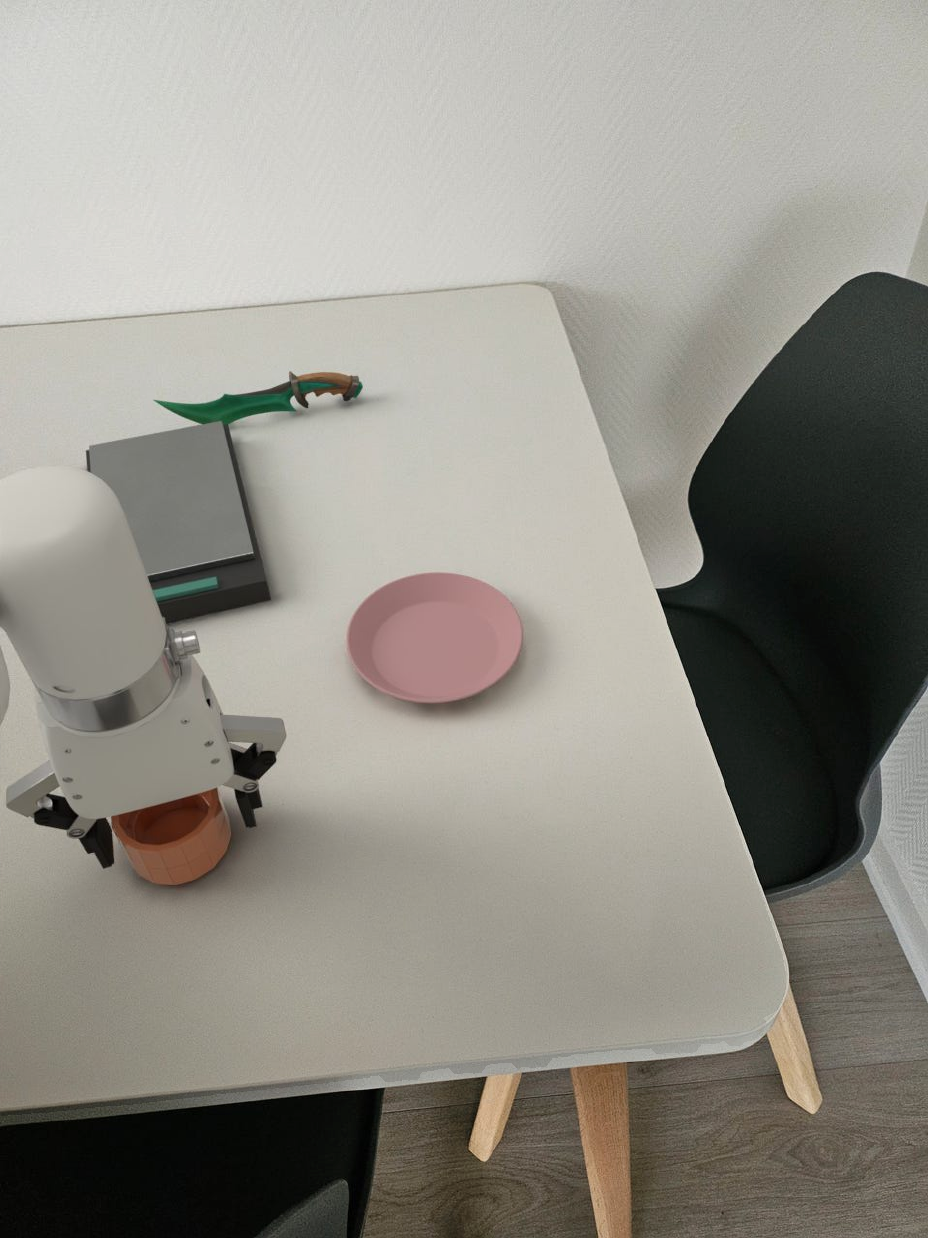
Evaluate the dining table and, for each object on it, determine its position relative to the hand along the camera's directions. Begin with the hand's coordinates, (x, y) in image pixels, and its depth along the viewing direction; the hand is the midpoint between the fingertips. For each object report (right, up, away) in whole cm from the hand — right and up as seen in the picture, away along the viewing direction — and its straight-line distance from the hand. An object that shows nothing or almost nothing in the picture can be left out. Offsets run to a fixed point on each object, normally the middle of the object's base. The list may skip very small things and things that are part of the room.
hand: (179, 830), depth 68 cm
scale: (-7, +23, +24) cm, 34 cm away
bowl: (0, -1, +1) cm, 2 cm away
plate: (+17, +12, +13) cm, 25 cm away
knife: (-1, +36, +36) cm, 51 cm away
